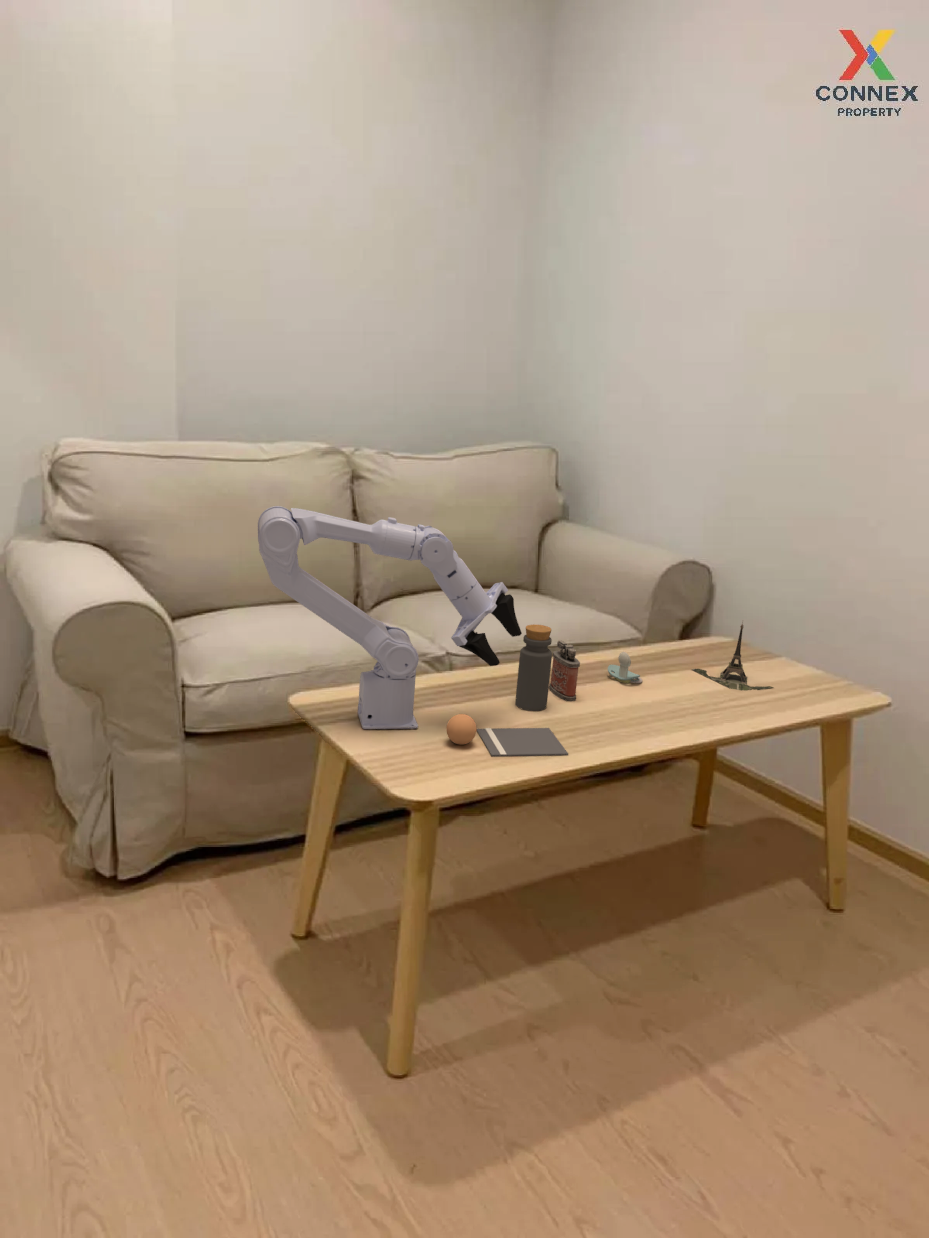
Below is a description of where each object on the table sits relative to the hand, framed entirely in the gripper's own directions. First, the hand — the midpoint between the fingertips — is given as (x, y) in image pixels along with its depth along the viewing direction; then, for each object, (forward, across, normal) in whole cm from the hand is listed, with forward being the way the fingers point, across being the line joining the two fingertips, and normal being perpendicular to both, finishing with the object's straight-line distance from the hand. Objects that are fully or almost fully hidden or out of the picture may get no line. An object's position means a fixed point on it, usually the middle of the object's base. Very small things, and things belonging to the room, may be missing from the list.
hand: (506, 649), depth 176 cm
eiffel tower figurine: (+46, +41, -3) cm, 62 cm away
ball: (+4, -18, +1) cm, 19 cm away
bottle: (+15, +2, +7) cm, 17 cm away
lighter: (+20, +11, +8) cm, 24 cm away
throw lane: (+11, -12, -4) cm, 17 cm away
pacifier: (+30, +26, +7) cm, 41 cm away
